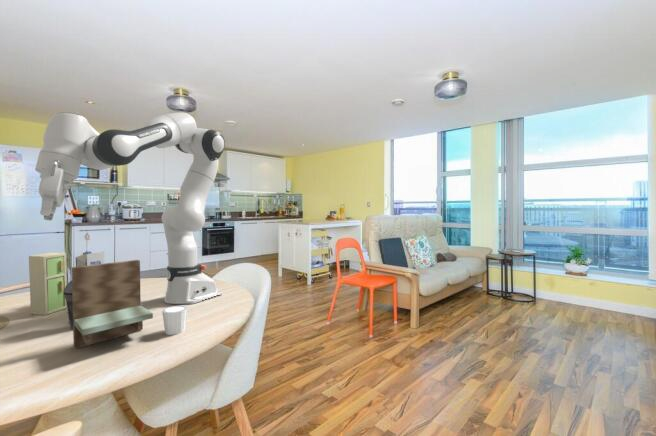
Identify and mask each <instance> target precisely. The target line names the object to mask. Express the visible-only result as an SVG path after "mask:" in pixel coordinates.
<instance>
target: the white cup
mask: <svg viewBox="0 0 656 436" xmlns="http://www.w3.org/2000/svg"><path fill="white" fill-rule="evenodd" d="M187 311H188V307H187V306H185V305H175V306H174V305H173V306H169V307H166V308H163V309H162V319H163V327H164V334H166V335H167V336H174V335H179V334H182V333H184V332H185V331H186V323H187Z"/></svg>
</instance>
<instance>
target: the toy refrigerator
mask: <svg viewBox="0 0 656 436" xmlns="http://www.w3.org/2000/svg"><path fill="white" fill-rule="evenodd" d="M28 267H29V268H28V271H29V273H28V274H29V296H30V298H29V299H30V300H29V301H30V303H29V304H30V314H31V315H38V316H39V315H40V316H47V315H49V314H53V313H56V312H59V311H62V310H65V309H67V303H66V299H65V296H64V290H65V287H66V285H67V284H68V277H67V274H68V273H67V271H68V269H67V253H66V252H46V253H45V252H44V253H40V254H31V255H28Z"/></svg>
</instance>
